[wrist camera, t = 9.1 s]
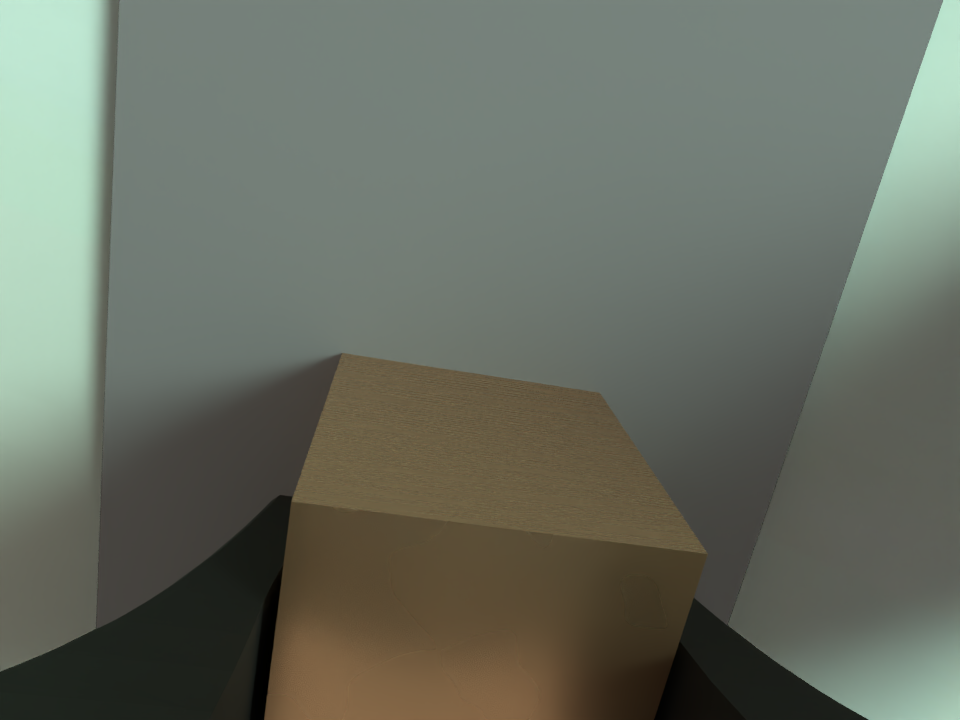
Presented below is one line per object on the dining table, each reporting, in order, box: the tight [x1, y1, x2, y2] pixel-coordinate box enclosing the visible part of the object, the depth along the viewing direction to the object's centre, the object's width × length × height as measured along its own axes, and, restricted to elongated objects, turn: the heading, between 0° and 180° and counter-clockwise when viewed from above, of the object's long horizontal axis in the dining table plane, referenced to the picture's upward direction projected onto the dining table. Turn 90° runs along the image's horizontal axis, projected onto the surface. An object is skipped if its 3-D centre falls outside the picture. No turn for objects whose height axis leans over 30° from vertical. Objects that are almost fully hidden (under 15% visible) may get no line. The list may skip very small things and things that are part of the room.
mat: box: [96, 0, 943, 629], centre depth 14 cm, size 38×12×1 cm, turn 169°
